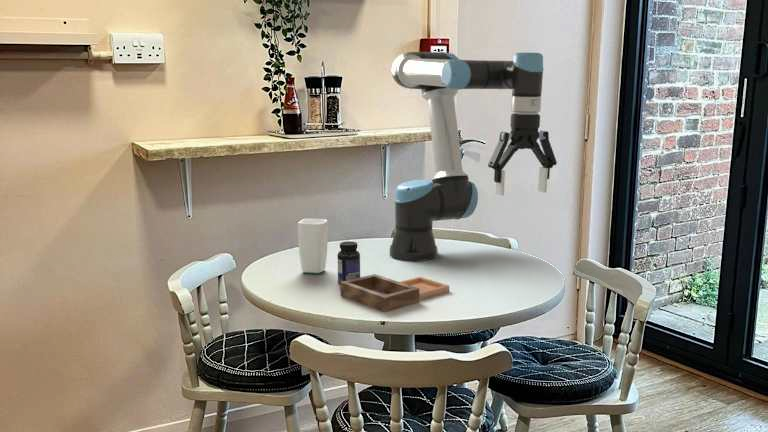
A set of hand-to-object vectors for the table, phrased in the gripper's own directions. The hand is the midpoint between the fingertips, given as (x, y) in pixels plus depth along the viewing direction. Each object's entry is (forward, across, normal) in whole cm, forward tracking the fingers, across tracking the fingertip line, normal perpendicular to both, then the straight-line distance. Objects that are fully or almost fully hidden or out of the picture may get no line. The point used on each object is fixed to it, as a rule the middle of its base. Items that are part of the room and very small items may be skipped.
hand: (521, 193), depth 181 cm
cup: (+25, -49, +30) cm, 63 cm away
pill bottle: (+25, -43, +16) cm, 53 cm away
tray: (+24, -29, +2) cm, 38 cm away
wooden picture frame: (+24, -41, 0) cm, 48 cm away
